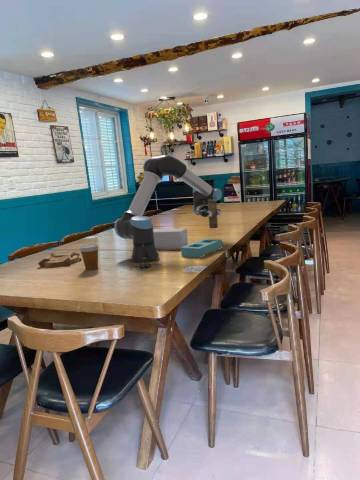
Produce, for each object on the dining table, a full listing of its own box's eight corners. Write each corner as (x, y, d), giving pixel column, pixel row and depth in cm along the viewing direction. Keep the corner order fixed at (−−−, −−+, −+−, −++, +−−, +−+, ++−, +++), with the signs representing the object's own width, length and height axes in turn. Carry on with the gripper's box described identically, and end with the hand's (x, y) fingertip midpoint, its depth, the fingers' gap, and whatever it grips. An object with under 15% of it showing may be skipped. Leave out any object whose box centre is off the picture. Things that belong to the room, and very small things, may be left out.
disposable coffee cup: (82, 267, 184) (79, 245, 182) (100, 265, 187) (97, 243, 185) (82, 272, 175) (79, 248, 173) (101, 269, 178) (98, 246, 176)
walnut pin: (215, 228, 209) (213, 201, 206) (208, 228, 212) (206, 202, 209) (219, 227, 212) (217, 200, 210) (212, 226, 215) (210, 201, 213)
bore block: (199, 257, 184) (198, 248, 183) (181, 256, 191) (180, 247, 190) (222, 248, 203) (221, 239, 202) (205, 246, 210) (204, 238, 209)
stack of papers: (188, 245, 221) (186, 228, 219) (181, 248, 212) (180, 231, 210) (143, 245, 234) (142, 229, 232) (136, 248, 224) (134, 232, 222)
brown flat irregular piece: (29, 267, 197) (27, 259, 196) (61, 257, 217) (59, 249, 217) (59, 269, 186) (58, 260, 185) (90, 258, 206) (88, 250, 205)
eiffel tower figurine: (162, 264, 179) (159, 239, 176) (159, 270, 169) (156, 243, 166) (134, 266, 181) (131, 241, 178) (129, 271, 171) (125, 245, 168)
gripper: (217, 215, 230) (230, 218, 208) (191, 217, 226) (201, 221, 204) (216, 203, 229) (229, 205, 207) (190, 206, 225) (200, 208, 203)
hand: (215, 213), depth 205 cm, fingers closed on walnut pin, 5 cm apart
